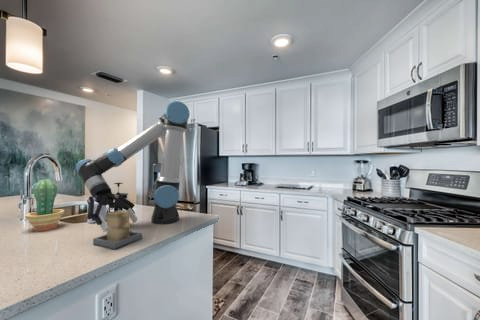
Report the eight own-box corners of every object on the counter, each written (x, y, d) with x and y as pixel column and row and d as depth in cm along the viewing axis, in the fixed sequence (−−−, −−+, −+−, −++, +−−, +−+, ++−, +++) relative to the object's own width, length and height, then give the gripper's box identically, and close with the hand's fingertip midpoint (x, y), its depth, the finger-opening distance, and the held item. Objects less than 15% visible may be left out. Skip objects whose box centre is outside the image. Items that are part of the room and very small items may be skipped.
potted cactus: (62, 222, 125) (61, 177, 125) (67, 227, 115) (66, 179, 115) (24, 228, 114) (23, 179, 114) (26, 235, 104) (25, 181, 104)
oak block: (120, 237, 98) (119, 210, 98) (129, 238, 96) (129, 211, 96) (107, 241, 93) (106, 213, 93) (116, 243, 90) (116, 214, 90)
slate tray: (121, 234, 103) (121, 229, 103) (142, 238, 97) (142, 233, 97) (93, 244, 91) (93, 238, 91) (114, 250, 86) (114, 243, 86)
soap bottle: (84, 224, 121) (84, 179, 121) (91, 219, 130) (90, 177, 130) (103, 222, 123) (102, 178, 123) (108, 218, 132) (107, 177, 132)
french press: (131, 227, 114) (131, 182, 114) (110, 231, 108) (110, 184, 108) (125, 222, 123) (125, 181, 123) (106, 225, 117) (105, 182, 117)
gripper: (120, 189, 112) (141, 222, 106) (63, 198, 89) (87, 240, 83) (127, 179, 110) (149, 212, 103) (71, 185, 87) (96, 228, 81)
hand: (122, 225), depth 93 cm, fingers open, 13 cm apart
